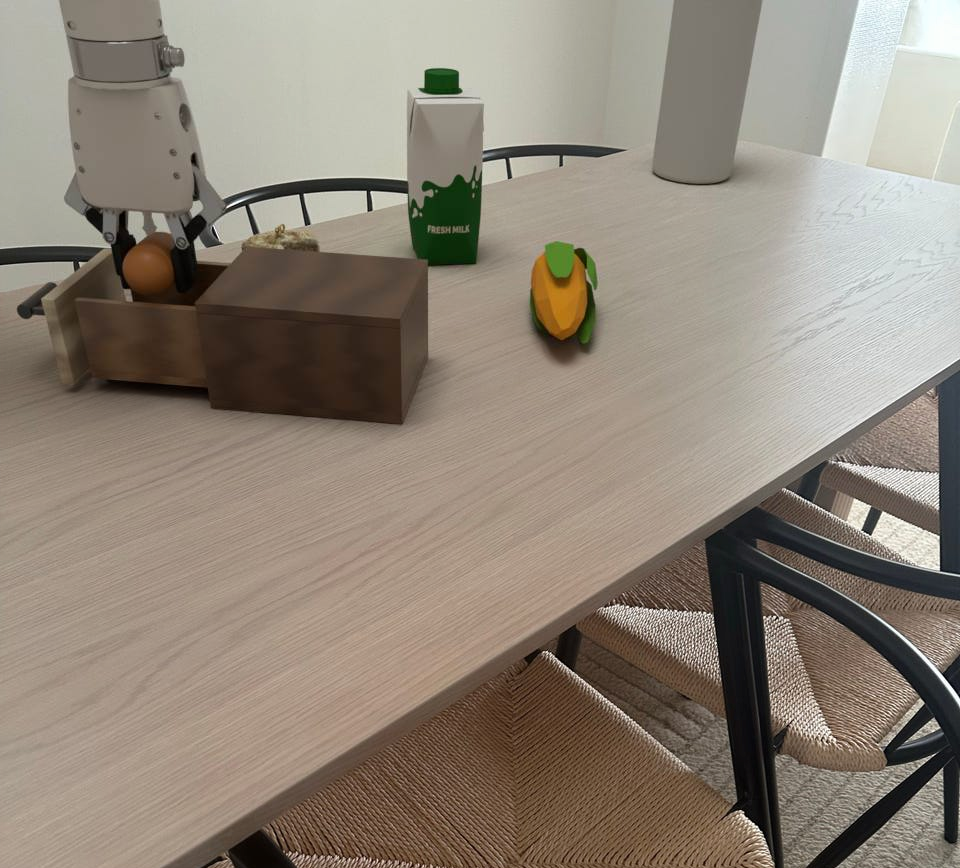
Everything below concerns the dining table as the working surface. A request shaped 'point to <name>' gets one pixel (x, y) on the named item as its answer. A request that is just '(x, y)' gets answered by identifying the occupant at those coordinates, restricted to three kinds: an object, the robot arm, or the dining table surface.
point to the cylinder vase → (704, 88)
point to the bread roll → (150, 265)
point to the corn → (563, 291)
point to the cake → (284, 240)
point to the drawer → (123, 326)
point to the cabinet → (316, 334)
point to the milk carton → (444, 168)
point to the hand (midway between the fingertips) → (159, 284)
